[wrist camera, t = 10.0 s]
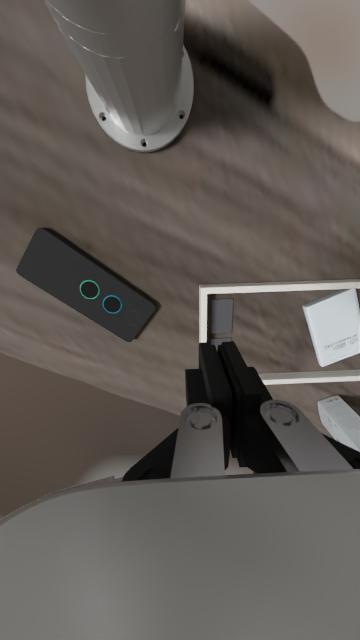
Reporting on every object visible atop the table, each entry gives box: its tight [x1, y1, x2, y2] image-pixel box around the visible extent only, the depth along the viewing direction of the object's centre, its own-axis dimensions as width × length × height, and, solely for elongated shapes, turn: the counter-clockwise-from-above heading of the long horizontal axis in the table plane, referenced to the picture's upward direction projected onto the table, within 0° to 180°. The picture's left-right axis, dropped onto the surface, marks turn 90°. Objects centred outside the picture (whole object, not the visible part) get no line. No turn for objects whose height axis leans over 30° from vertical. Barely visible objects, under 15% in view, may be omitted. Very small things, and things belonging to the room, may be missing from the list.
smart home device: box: [16, 228, 156, 342], centre depth 37 cm, size 8×2×20 cm
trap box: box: [199, 279, 360, 385], centre depth 40 cm, size 18×33×4 cm, turn 92°
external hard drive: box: [303, 289, 360, 367], centre depth 41 cm, size 2×8×12 cm
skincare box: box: [318, 395, 360, 452], centre depth 42 cm, size 6×4×12 cm
